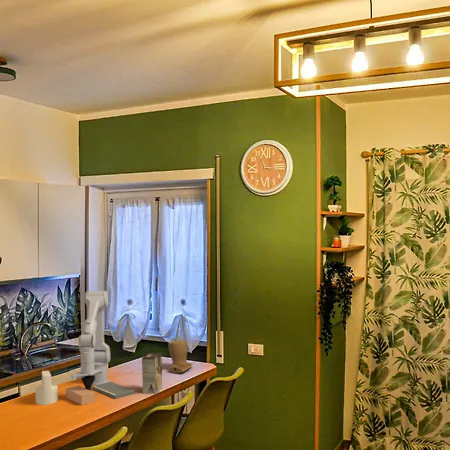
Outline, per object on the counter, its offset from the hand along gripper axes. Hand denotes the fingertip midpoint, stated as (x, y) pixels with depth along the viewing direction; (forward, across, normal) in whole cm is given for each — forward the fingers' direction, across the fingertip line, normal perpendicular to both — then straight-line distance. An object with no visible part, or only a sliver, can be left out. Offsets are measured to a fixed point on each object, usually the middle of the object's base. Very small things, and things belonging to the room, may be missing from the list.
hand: (88, 393), depth 237 cm
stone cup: (+3, +55, +7) cm, 56 cm away
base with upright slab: (+2, -15, +9) cm, 17 cm away
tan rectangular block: (+2, -4, 0) cm, 4 cm away
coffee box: (+2, +25, -12) cm, 28 cm away
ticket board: (+2, +12, 0) cm, 13 cm away
